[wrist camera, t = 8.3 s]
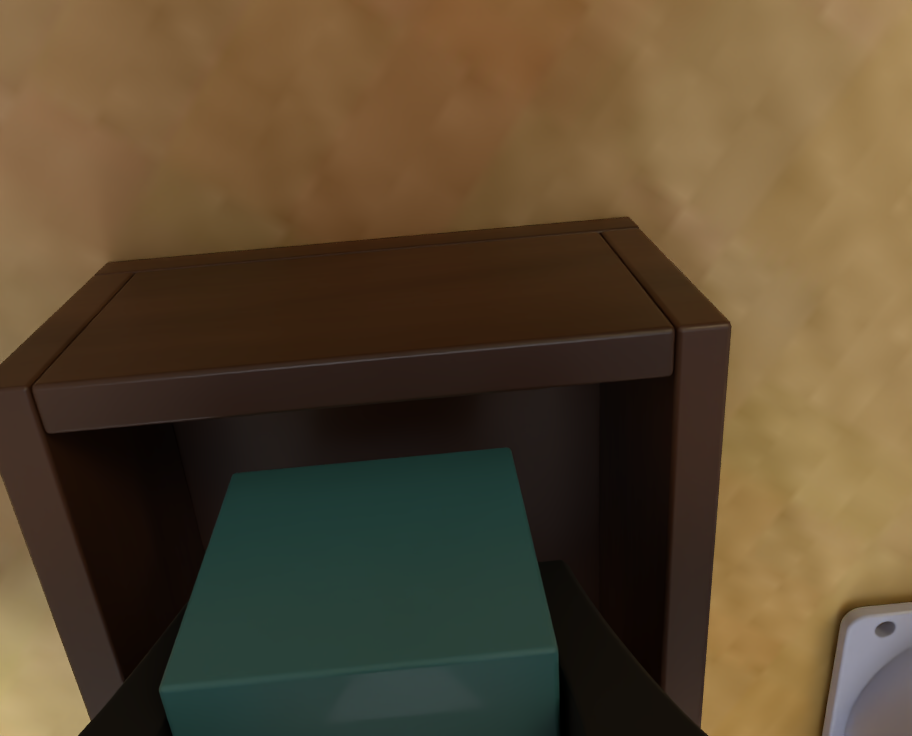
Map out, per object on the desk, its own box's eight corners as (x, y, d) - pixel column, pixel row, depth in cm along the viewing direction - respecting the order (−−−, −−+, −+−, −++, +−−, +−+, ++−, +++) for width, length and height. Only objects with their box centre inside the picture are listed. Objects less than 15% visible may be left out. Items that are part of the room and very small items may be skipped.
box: (106, 262, 16) (-32, 392, 11) (629, 216, 17) (734, 322, 11) (219, 687, 21) (160, 915, 16) (621, 647, 22) (692, 859, 16)
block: (511, 445, 13) (559, 649, 9) (521, 655, 15) (565, 900, 11) (232, 471, 13) (155, 690, 9) (277, 679, 15) (232, 936, 11)
